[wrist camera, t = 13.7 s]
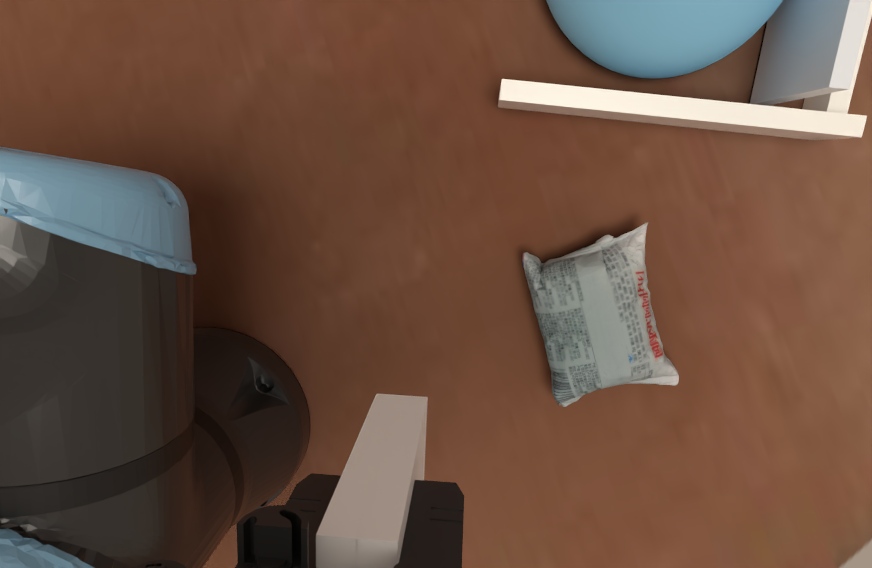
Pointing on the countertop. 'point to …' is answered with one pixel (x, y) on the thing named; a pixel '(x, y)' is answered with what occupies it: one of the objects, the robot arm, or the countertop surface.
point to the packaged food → (598, 317)
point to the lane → (695, 108)
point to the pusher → (809, 49)
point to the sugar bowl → (659, 32)
